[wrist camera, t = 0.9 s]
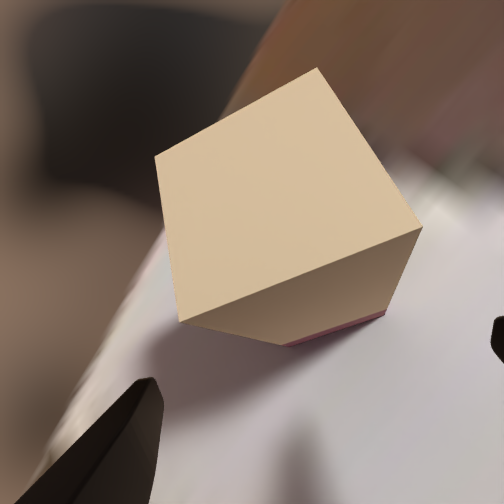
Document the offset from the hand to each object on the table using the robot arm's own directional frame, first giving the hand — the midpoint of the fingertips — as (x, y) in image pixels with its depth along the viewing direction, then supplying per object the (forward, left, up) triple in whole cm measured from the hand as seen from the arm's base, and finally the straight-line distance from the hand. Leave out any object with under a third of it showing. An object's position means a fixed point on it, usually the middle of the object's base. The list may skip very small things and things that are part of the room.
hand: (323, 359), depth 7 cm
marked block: (+5, 0, -10) cm, 11 cm away
